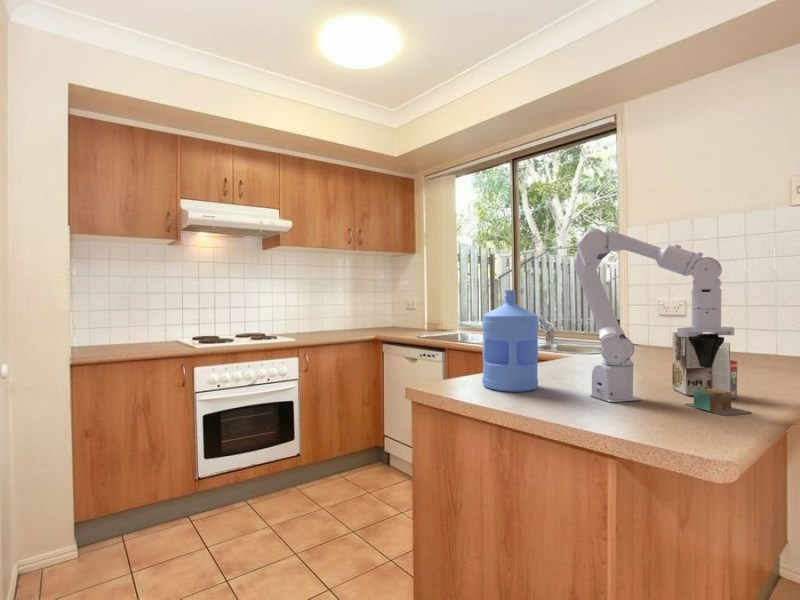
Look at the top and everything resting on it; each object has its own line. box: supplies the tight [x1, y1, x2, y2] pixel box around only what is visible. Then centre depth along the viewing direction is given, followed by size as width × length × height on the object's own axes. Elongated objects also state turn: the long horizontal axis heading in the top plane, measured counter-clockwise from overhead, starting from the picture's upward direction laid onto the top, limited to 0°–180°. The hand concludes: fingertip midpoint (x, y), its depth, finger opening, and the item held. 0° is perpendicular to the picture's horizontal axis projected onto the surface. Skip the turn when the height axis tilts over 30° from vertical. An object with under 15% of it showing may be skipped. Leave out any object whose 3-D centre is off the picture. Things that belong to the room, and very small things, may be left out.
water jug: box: [481, 289, 539, 393], centre depth 130 cm, size 16×16×28 cm
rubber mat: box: [684, 402, 752, 417], centre depth 106 cm, size 8×10×1 cm
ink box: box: [711, 341, 738, 400], centre depth 119 cm, size 4×8×15 cm, turn 27°
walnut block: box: [693, 389, 732, 412], centre depth 106 cm, size 4×4×6 cm
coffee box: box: [671, 332, 711, 396], centre depth 123 cm, size 9×6×16 cm
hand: (705, 366), depth 105 cm, fingers closed
